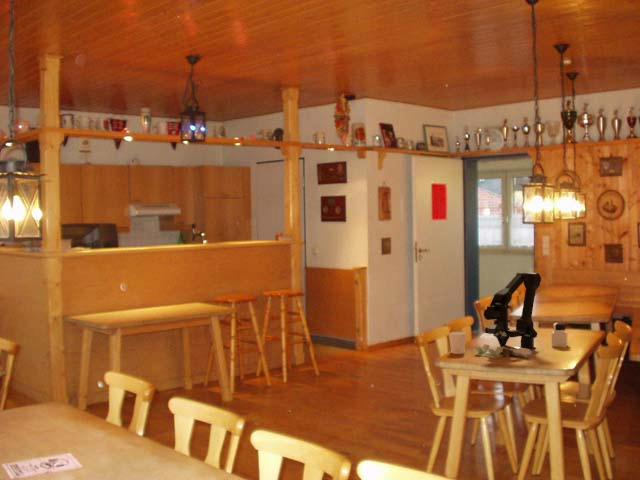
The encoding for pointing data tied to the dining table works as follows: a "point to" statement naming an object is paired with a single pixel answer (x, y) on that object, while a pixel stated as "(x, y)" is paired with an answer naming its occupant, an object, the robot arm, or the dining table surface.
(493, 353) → the cradle
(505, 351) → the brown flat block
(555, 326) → the medicine bottle
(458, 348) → the white cup
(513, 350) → the brown rounded bar
